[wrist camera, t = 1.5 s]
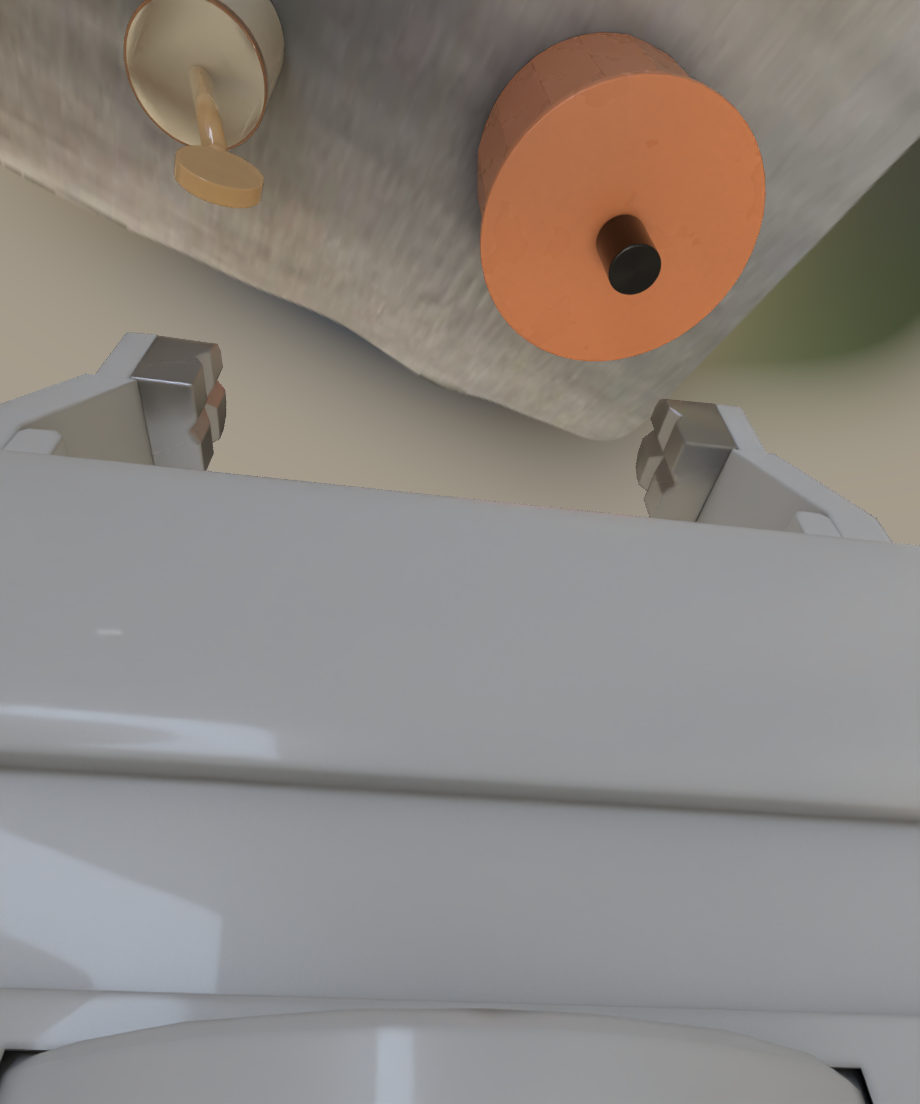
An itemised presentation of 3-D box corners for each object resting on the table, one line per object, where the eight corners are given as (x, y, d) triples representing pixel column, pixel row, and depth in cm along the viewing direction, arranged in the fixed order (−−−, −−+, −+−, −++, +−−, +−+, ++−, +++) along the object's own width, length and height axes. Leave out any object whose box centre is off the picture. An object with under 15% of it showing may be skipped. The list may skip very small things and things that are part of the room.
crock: (158, 77, 36) (40, 220, 24) (166, -66, 32) (30, 25, 20) (292, 129, 38) (243, 284, 26) (317, 2, 34) (271, 119, 22)
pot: (445, 232, 42) (452, 307, 36) (535, -14, 34) (564, 31, 28) (623, 297, 46) (656, 375, 40) (745, 91, 38) (809, 151, 32)
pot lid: (439, 307, 37) (442, 351, 34) (556, 7, 28) (573, 34, 25) (656, 378, 41) (674, 424, 38) (820, 139, 32) (861, 175, 29)
